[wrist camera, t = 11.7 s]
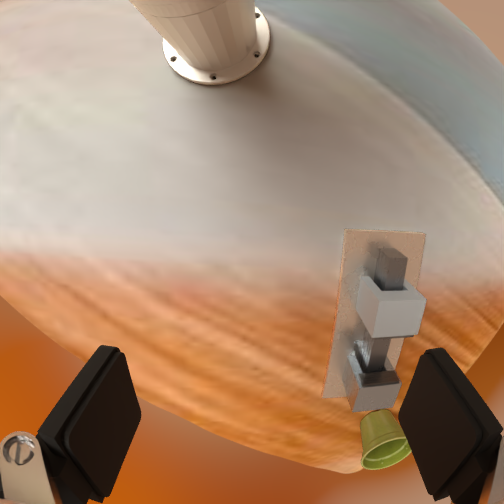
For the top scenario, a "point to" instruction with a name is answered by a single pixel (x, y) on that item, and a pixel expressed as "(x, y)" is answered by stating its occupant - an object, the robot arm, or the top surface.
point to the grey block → (390, 310)
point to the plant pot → (382, 440)
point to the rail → (352, 327)
